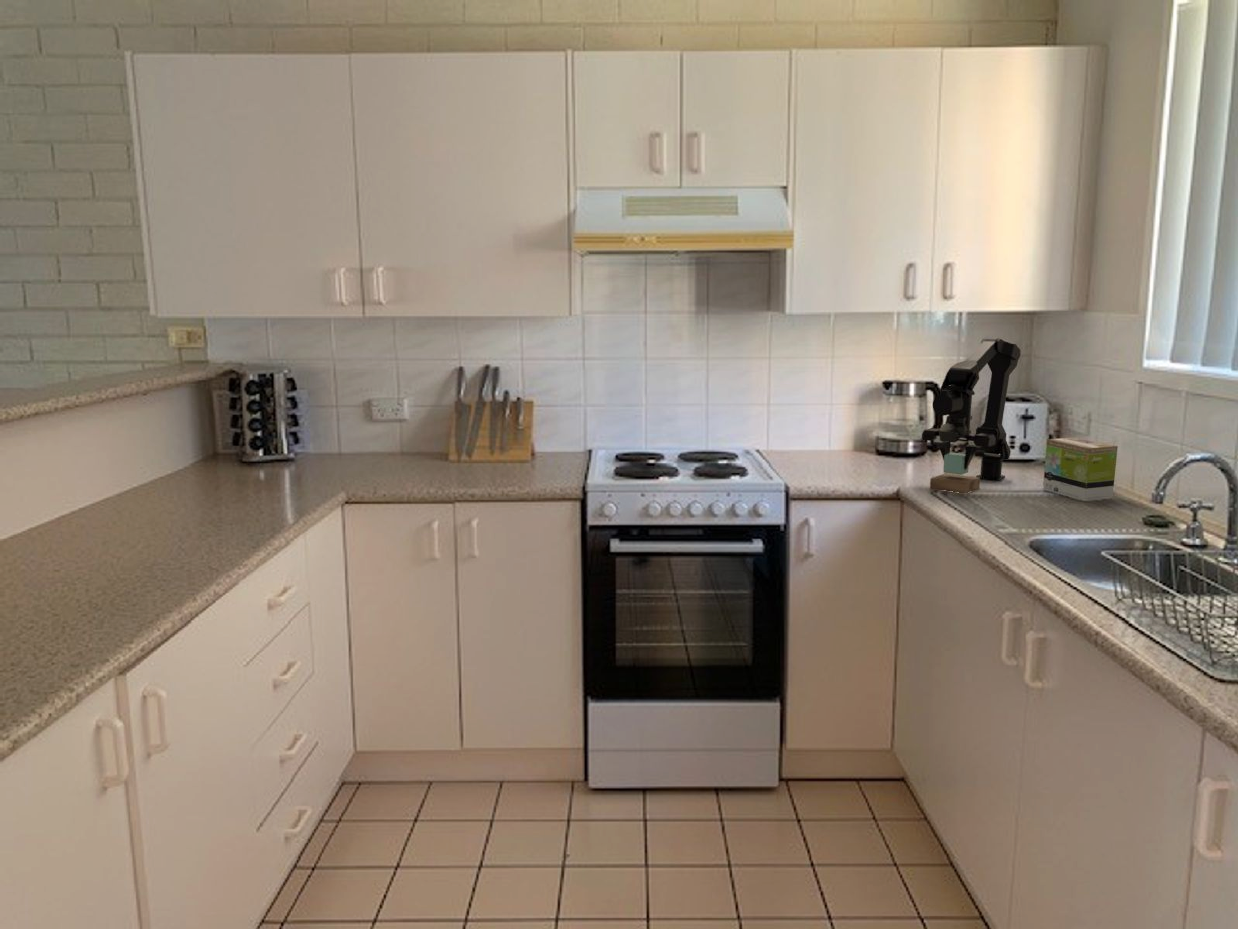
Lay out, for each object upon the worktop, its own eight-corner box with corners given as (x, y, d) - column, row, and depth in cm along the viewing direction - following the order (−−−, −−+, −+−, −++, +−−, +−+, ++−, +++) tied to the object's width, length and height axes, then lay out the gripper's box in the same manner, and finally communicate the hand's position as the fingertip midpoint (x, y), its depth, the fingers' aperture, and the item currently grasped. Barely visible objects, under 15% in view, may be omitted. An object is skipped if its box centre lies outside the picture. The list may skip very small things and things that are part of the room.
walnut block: (944, 485, 265) (944, 473, 264) (979, 489, 258) (979, 477, 258) (929, 490, 257) (930, 478, 257) (965, 495, 251) (966, 483, 250)
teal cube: (950, 470, 260) (951, 452, 259) (968, 472, 257) (969, 454, 256) (943, 472, 256) (944, 454, 256) (961, 474, 253) (962, 457, 252)
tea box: (1041, 491, 255) (1045, 438, 252) (1069, 488, 258) (1074, 436, 256) (1084, 502, 241) (1089, 446, 238) (1114, 499, 244) (1119, 444, 242)
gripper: (914, 412, 254) (911, 468, 257) (983, 418, 242) (978, 476, 245) (931, 408, 262) (928, 462, 265) (998, 414, 250) (994, 470, 253)
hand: (956, 468), depth 257 cm, fingers closed on teal cube, 5 cm apart
